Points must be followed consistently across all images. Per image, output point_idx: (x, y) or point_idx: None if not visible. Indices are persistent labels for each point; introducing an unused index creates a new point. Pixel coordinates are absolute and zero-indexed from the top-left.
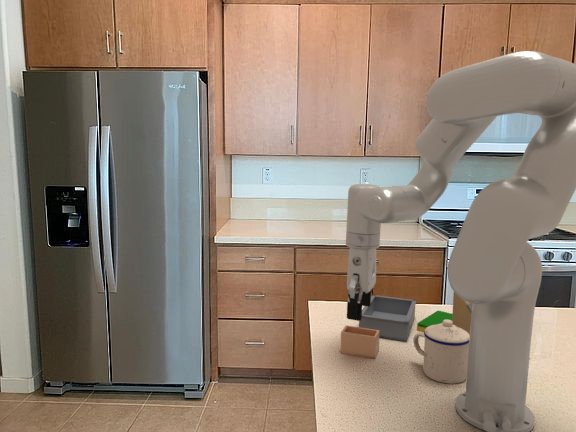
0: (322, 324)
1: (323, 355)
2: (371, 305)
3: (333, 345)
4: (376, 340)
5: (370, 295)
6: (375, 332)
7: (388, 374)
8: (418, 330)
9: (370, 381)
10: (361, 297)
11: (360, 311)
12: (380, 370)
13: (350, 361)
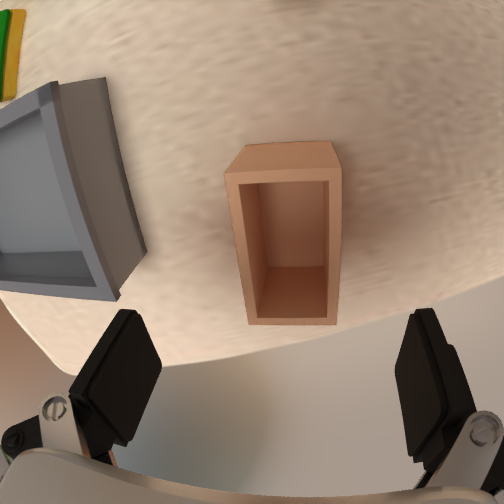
0: None
1: (369, 305)
2: (4, 271)
3: None
4: (315, 160)
5: (97, 364)
6: (241, 187)
7: (436, 74)
8: (14, 91)
9: (497, 133)
10: (456, 460)
11: (450, 358)
12: (419, 105)
13: (387, 221)
